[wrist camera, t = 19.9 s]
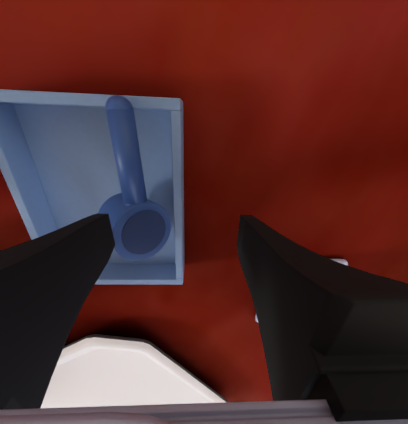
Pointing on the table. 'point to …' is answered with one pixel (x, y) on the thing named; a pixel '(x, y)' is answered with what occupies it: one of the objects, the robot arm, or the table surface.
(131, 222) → the blue spoon
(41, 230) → the blue tray
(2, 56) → the table surface
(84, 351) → the plate
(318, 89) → the table surface
